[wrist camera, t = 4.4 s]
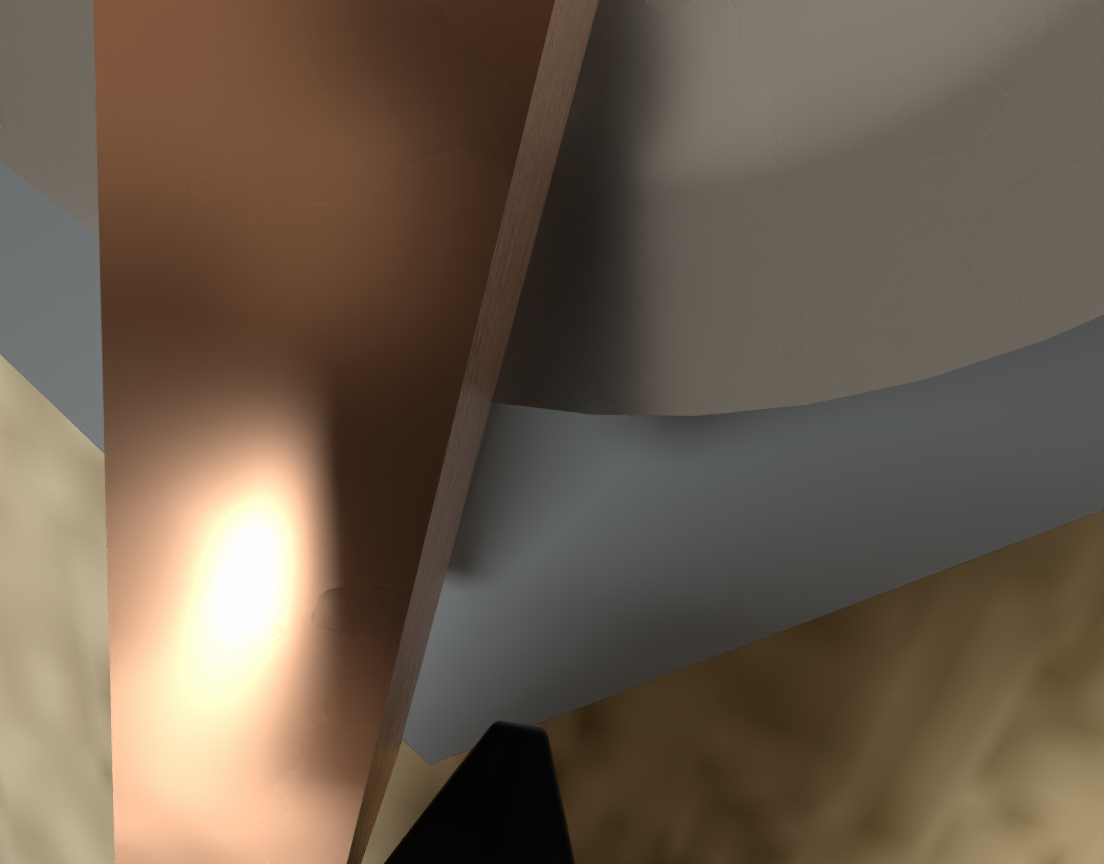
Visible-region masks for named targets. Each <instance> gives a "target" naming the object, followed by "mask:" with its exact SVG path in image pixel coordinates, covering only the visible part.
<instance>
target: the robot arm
mask: <svg viewBox="0 0 1104 864" xmlns="http://www.w3.org/2000/svg"><path fill="white" fill-rule="evenodd" d="M384 864H575V860H574V856H573V851H572V846H571V841H570V837H569V832H568V827H567V823H566V818H565V813H564V809H563V804H562V799H561V794H560V790H559V785H558V780H557V776H556V771H555V766H554V762H553V757H552V752H551V747H550V743H549V738H548V735H547V733H546V731H545V730H544V729H543V728H540V727H535V726H529V725H524V724H518V723H512V722H507V721H501V720H499V721H495V722H494V723H493V724H491V725H490V726H489V728H488V729H487V730H486V731H485V733H484V734H483V735H482V737H481V738H480V739H479V740H478V742H477V743H476V744H475V746H474V747H473V748H472V750H471V751H470V752H469V754H468V755H467V756H466V757H465V759H464V760H463V761H462V763H461V764H460V765H459V767H458V768H457V769H456V770H455V772H454V773H453V774H452V776H451V777H450V778H449V780H448V781H447V782H446V783H445V785H444V786H443V787H442V789H441V790H440V791H439V793H438V794H437V795H436V796H435V798H434V799H433V800H432V802H431V803H430V804H429V806H428V807H427V808H426V810H425V811H424V812H423V813H422V815H421V816H420V817H419V819H418V820H417V821H416V823H415V824H414V825H413V826H412V828H411V829H410V830H409V832H408V833H407V834H406V836H405V837H404V838H403V839H402V841H401V842H400V843H399V845H398V846H397V847H396V849H395V850H394V851H393V852H392V854H391V855H390V856H389V858H388V859H387V860H386V862H385V863H384Z"/></svg>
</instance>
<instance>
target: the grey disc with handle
mask: <svg viewBox="0 0 1104 864" xmlns="http://www.w3.org/2000/svg"><path fill="white" fill-rule="evenodd" d="M0 162H1V163H3V164H4V165H5V166H7V167H8V168H9V169H10V170H12V171H13V172H14V173H16V174H17V175H18V176H20V177H21V178H22V179H24V180H25V181H26V182H28V183H29V184H30V185H31V186H33V187H34V188H35V189H37V190H38V191H39V192H41V193H42V194H43V195H45V196H46V197H47V198H48V199H50V200H51V201H52V202H54V203H55V204H56V205H58V206H59V207H60V208H62V209H63V210H64V211H65V212H67V213H68V214H69V215H71V216H72V217H73V218H75V219H76V220H77V221H79V222H80V223H81V224H83V225H84V226H85V227H86V228H88V229H89V230H90V231H92V232H93V233H94V234H96V235H98V236H99V252H100V291H101V331H102V371H103V411H104V451H105V490H106V530H107V570H108V610H109V649H110V689H111V729H112V769H113V809H114V848H115V864H361V862H362V859H363V856H364V853H365V850H366V847H367V844H368V841H369V838H370V835H371V833H372V830H373V827H374V824H375V821H376V818H377V815H378V812H379V809H380V806H381V803H382V800H383V797H384V794H385V791H386V788H387V785H388V782H389V779H390V777H391V774H392V771H393V768H394V765H395V762H396V759H397V755H398V752H399V748H400V744H401V740H402V737H403V733H404V729H405V725H406V722H407V718H408V714H409V710H410V707H411V703H412V699H413V695H414V692H415V688H416V684H417V680H418V677H419V673H420V669H421V665H422V662H423V658H424V654H425V650H426V647H427V643H428V639H429V635H430V632H431V628H432V624H433V620H434V617H435V613H436V609H437V605H438V602H439V598H440V594H441V590H442V587H443V583H444V579H445V575H446V572H447V568H448V564H449V560H450V557H451V553H452V549H453V545H454V542H455V538H456V534H457V530H458V527H459V523H460V519H461V515H462V512H463V508H464V504H465V500H466V497H467V493H468V489H469V485H470V482H471V478H472V474H473V470H474V467H475V463H476V459H477V455H478V452H479V448H480V444H481V440H482V437H483V433H484V429H485V425H486V422H487V418H488V414H489V410H490V407H491V403H492V402H494V403H502V404H510V405H518V406H526V407H534V408H542V409H550V410H558V411H566V412H574V413H582V414H591V415H672V416H700V415H710V414H720V413H730V412H740V411H749V410H759V409H769V408H779V407H789V406H799V405H808V404H813V403H817V402H822V401H827V400H832V399H836V398H841V397H846V396H850V395H855V394H860V393H864V392H869V391H874V390H878V389H883V388H888V387H892V386H897V385H902V384H907V383H911V382H916V381H921V380H925V379H928V378H931V377H934V376H937V375H940V374H943V373H946V372H949V371H952V370H955V369H958V368H961V367H965V366H968V365H971V364H974V363H977V362H980V361H983V360H986V359H989V358H992V357H995V356H998V355H1001V354H1005V353H1008V352H1011V351H1014V350H1017V349H1020V348H1023V347H1026V346H1029V345H1032V344H1035V343H1038V342H1041V341H1044V340H1047V339H1049V338H1052V337H1054V336H1056V335H1058V334H1061V333H1063V332H1065V331H1067V330H1070V329H1072V328H1074V327H1077V326H1079V325H1081V324H1083V323H1086V322H1088V321H1090V320H1093V319H1095V318H1097V317H1099V316H1102V315H1104V0H0Z"/></svg>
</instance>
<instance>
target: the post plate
mask: <svg viewBox="0 0 1104 864" xmlns="http://www.w3.org/2000/svg"><path fill="white" fill-rule="evenodd" d="M0 354H1V355H2V356H3V357H4V358H5V359H6V360H7V361H8V362H9V363H10V364H11V365H12V366H13V367H14V368H15V369H16V370H17V371H19V372H20V373H21V374H22V375H23V376H24V377H25V378H26V379H27V380H28V381H29V382H30V383H31V384H32V385H33V386H34V387H35V388H36V389H37V390H38V391H39V392H40V393H41V394H43V395H44V396H45V397H46V398H47V399H48V400H49V401H50V402H51V403H52V404H53V405H54V406H55V407H56V408H57V409H58V410H59V411H60V412H61V413H62V414H63V415H64V416H66V417H67V418H68V419H69V420H70V421H71V422H72V423H73V424H74V425H75V426H76V427H77V428H78V429H79V430H80V431H81V432H82V433H83V434H84V435H85V436H86V437H87V438H89V439H90V440H91V441H92V442H93V443H94V444H95V445H96V446H97V447H98V448H99V449H100V450H101V451H102V452H103V453H104V454H105V451H104V411H103V371H102V331H101V291H100V252H99V236H98V235H96V234H94V233H93V232H92V231H90V230H89V229H88V228H86V227H85V226H84V225H83V224H81V223H80V222H79V221H77V220H76V219H75V218H73V217H72V216H71V215H69V214H68V213H67V212H65V211H64V210H63V209H62V208H60V207H59V206H58V205H56V204H55V203H54V202H52V201H51V200H50V199H48V198H47V197H46V196H45V195H43V194H42V193H41V192H39V191H38V190H37V189H35V188H34V187H33V186H31V185H30V184H29V183H28V182H26V181H25V180H24V179H22V178H21V177H20V176H18V175H17V174H16V173H14V172H13V171H12V170H10V169H9V168H8V167H7V166H5V165H4V164H3V163H1V162H0ZM1102 510H1104V315H1102V316H1099V317H1097V318H1095V319H1093V320H1090V321H1088V322H1086V323H1083V324H1081V325H1079V326H1077V327H1074V328H1072V329H1070V330H1067V331H1065V332H1063V333H1061V334H1058V335H1056V336H1054V337H1052V338H1049V339H1047V340H1044V341H1041V342H1038V343H1035V344H1032V345H1029V346H1026V347H1023V348H1020V349H1017V350H1014V351H1011V352H1008V353H1005V354H1001V355H998V356H995V357H992V358H989V359H986V360H983V361H980V362H977V363H974V364H971V365H968V366H965V367H961V368H958V369H955V370H952V371H949V372H946V373H943V374H940V375H937V376H934V377H931V378H928V379H925V380H921V381H916V382H911V383H907V384H902V385H897V386H892V387H888V388H883V389H878V390H874V391H869V392H864V393H860V394H855V395H850V396H846V397H841V398H836V399H832V400H827V401H822V402H817V403H813V404H808V405H799V406H789V407H779V408H769V409H759V410H749V411H740V412H730V413H720V414H710V415H700V416H672V415H591V414H582V413H574V412H566V411H558V410H550V409H542V408H534V407H526V406H518V405H510V404H502V403H494V402H492V403H491V407H490V410H489V414H488V418H487V422H486V425H485V429H484V433H483V437H482V440H481V444H480V448H479V452H478V455H477V459H476V463H475V467H474V470H473V474H472V478H471V482H470V485H469V489H468V493H467V497H466V500H465V504H464V508H463V512H462V515H461V519H460V523H459V527H458V530H457V534H456V538H455V542H454V545H453V549H452V553H451V557H450V560H449V564H448V568H447V572H446V575H445V579H444V583H443V587H442V590H441V594H440V598H439V602H438V605H437V609H436V613H435V617H434V620H433V624H432V628H431V632H430V635H429V639H428V643H427V647H426V650H425V654H424V658H423V662H422V665H421V669H420V673H419V677H418V680H417V684H416V688H415V692H414V695H413V699H412V703H411V707H410V710H409V714H408V718H407V722H406V725H405V729H404V733H403V737H402V739H403V740H404V741H405V742H406V743H407V744H408V745H409V746H410V747H411V748H412V749H413V750H415V751H416V752H417V753H418V754H419V755H420V756H421V757H422V758H423V759H424V760H425V761H426V762H427V763H428V764H429V765H430V764H433V763H435V762H438V761H440V760H443V759H446V758H448V757H451V756H454V755H456V754H459V753H462V752H464V751H467V750H470V749H472V748H473V747H474V746H475V744H476V743H477V742H478V740H479V739H480V738H481V737H482V735H483V734H484V733H485V731H486V730H487V729H488V728H489V726H490V725H491V724H493V723H494V722H495V721H499V720H501V721H507V722H512V723H518V724H524V725H529V726H533V725H536V724H538V723H541V722H544V721H546V720H549V719H552V718H554V717H557V716H560V715H562V714H565V713H567V712H570V711H573V710H575V709H578V708H581V707H583V706H586V705H589V704H591V703H594V702H597V701H599V700H602V699H605V698H607V697H610V696H612V695H615V694H618V693H620V692H623V691H626V690H628V689H631V688H634V687H636V686H639V685H642V684H644V683H647V682H650V681H652V680H655V679H657V678H660V677H663V676H665V675H668V674H671V673H673V672H676V671H679V670H681V669H684V668H687V667H689V666H692V665H695V664H697V663H700V662H702V661H705V660H708V659H710V658H713V657H716V656H718V655H721V654H724V653H726V652H729V651H732V650H734V649H737V648H740V647H742V646H745V645H747V644H750V643H753V642H755V641H758V640H761V639H763V638H766V637H769V636H771V635H774V634H777V633H779V632H782V631H784V630H787V629H790V628H792V627H795V626H798V625H800V624H803V623H806V622H808V621H811V620H814V619H816V618H819V617H822V616H824V615H827V614H829V613H832V612H835V611H837V610H840V609H843V608H845V607H848V606H851V605H853V604H856V603H859V602H861V601H864V600H867V599H869V598H872V597H874V596H877V595H880V594H882V593H885V592H888V591H890V590H893V589H896V588H898V587H901V586H904V585H906V584H909V583H912V582H914V581H917V580H919V579H922V578H925V577H927V576H930V575H933V574H935V573H938V572H941V571H943V570H946V569H949V568H951V567H954V566H956V565H959V564H962V563H964V562H967V561H970V560H972V559H975V558H978V557H980V556H983V555H986V554H988V553H991V552H994V551H996V550H999V549H1001V548H1004V547H1007V546H1009V545H1012V544H1015V543H1017V542H1020V541H1023V540H1025V539H1028V538H1031V537H1033V536H1036V535H1039V534H1041V533H1044V532H1046V531H1049V530H1052V529H1054V528H1057V527H1060V526H1062V525H1065V524H1068V523H1070V522H1073V521H1076V520H1078V519H1081V518H1084V517H1086V516H1089V515H1091V514H1094V513H1097V512H1099V511H1102Z"/></svg>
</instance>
